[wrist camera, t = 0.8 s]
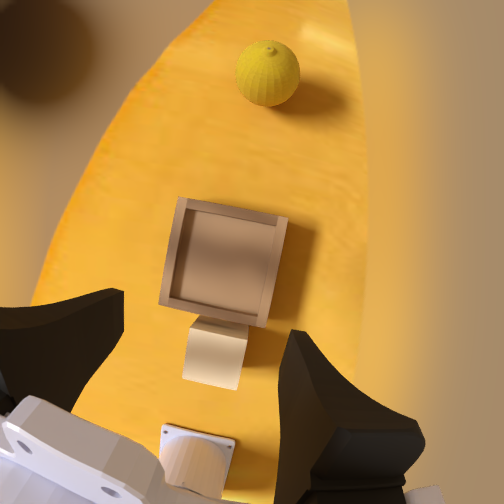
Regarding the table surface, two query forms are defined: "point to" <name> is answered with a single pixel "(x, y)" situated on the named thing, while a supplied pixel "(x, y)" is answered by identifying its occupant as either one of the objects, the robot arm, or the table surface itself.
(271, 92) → the lemon
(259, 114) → the table surface
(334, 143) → the table surface
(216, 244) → the tray
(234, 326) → the block
